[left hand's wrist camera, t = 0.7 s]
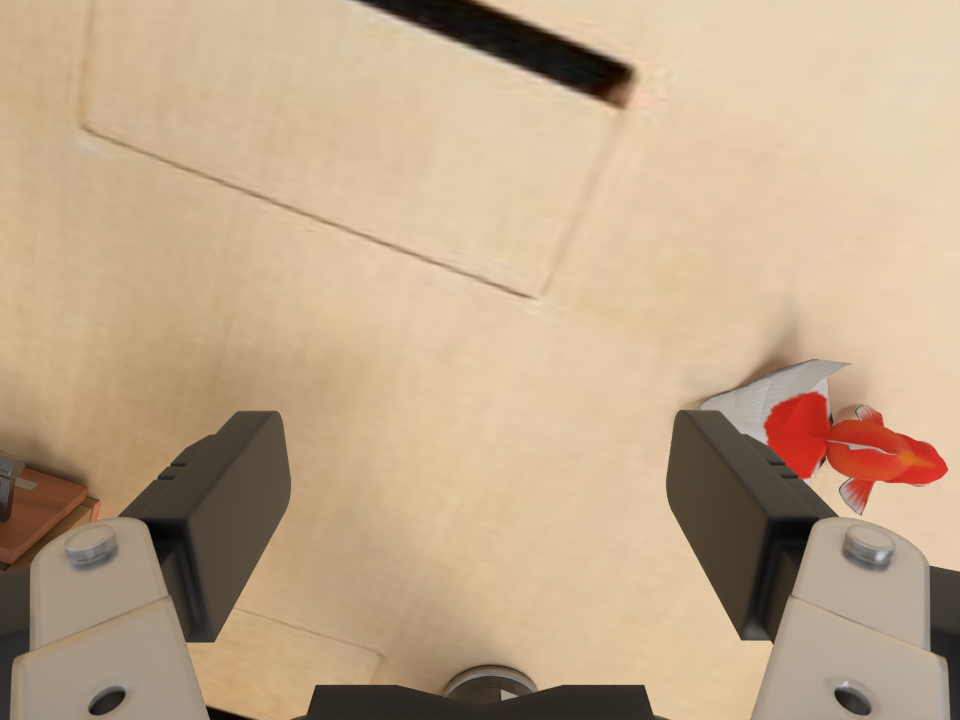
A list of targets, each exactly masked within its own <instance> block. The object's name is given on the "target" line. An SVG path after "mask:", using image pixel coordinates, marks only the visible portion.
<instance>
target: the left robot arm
mask: <svg viewBox="0 0 960 720" xmlns="http://www.w3.org/2000/svg"><path fill="white" fill-rule="evenodd" d="M785 463H786V462H785V461H784V460H783V459H782V458H781V457H780V456H779V455H778V454H777V453H776V452H775V451H774V450H773V449H772V448H771V447H769V446H767V445H766V444H764V443H762V442H760V441H759V440H757V439H755V438H753V437H751V436H750V435H748V434H741V433H740V432H739V431H738V430H737V429H736V428H735V426H734V425H733V424H732V423H731V422H730V421H729V420H728V419H727V418H726V417H725V416H724V415H723V414H722V413H721V412H720V411H719V410H680V411H679V412H678V413H677V414H676V417H675V420H674V427H673V434H672V441H671V448H670V455H669V463H668V470H667V478H666V490H667V497H668V502H669V505H670V508H671V510H672V512H673V514H674V516H675V517H676V519H677V521H678V523H679V525H680V527H681V529H682V531H683V532H684V534H685V536H686V538H687V540H688V542H689V544H690V545H691V547H692V549H693V551H694V553H695V555H696V557H697V558H698V560H699V562H700V564H701V566H702V568H703V570H704V571H705V573H706V575H707V577H708V579H709V581H710V583H711V585H712V586H713V588H714V590H715V592H716V594H717V596H718V598H719V599H720V601H721V603H722V605H723V607H724V609H725V611H726V612H727V614H728V616H729V618H730V620H731V622H732V624H733V625H734V627H735V629H736V631H737V633H738V635H739V637H740V639H741V640H771V642H772V643H773V649H772V652H771V655H770V658H769V661H768V665H767V668H766V671H765V674H764V677H763V681H762V684H761V687H760V690H759V694H758V697H757V700H756V703H755V706H754V710H753V713H752V716H751V719H750V720H960V572H958V571H953V570H948V569H943V568H938V567H933V566H929V563H928V561H927V559H926V557H925V556H924V555H923V553H922V552H921V551H920V550H919V549H918V548H917V547H916V546H914V545H913V544H912V543H911V542H909V541H908V540H906V539H905V538H903V537H902V536H900V535H898V534H896V533H894V532H892V531H890V530H888V529H886V528H884V527H881V526H879V525H876V524H873V523H870V522H866V521H863V520H858V519H853V518H845V517H839V516H838V515H837V514H836V513H835V512H834V511H833V510H832V509H831V508H830V507H829V506H828V505H827V504H826V503H825V502H824V501H823V500H822V499H821V498H820V497H819V496H818V495H817V494H816V493H815V492H814V491H813V490H812V489H811V488H810V487H809V486H808V485H807V484H806V483H805V482H804V481H803V480H802V479H799V478H798V475H797V474H796V473H795V472H794V471H793V470H792V468H791V467H790V466H786V464H785ZM290 493H291V477H290V470H289V463H288V456H287V449H286V441H285V434H284V427H283V421H282V418H281V415H280V414H279V412H277V411H238V412H236V413H235V414H234V415H233V416H232V417H231V418H230V419H229V420H228V421H227V423H226V424H225V425H224V426H223V427H222V428H221V429H220V430H219V431H218V432H217V433H216V434H215V435H209V436H207V437H205V438H203V439H201V440H200V441H198V442H196V443H194V444H192V445H191V446H189V447H187V448H186V449H185V450H184V451H183V452H182V453H181V454H180V455H179V456H178V457H177V458H176V459H175V460H174V461H173V462H172V463H171V466H170V467H167V468H166V469H165V470H164V471H163V472H162V473H161V474H160V475H159V476H158V479H157V480H154V481H153V482H152V483H151V484H150V485H149V486H148V487H147V488H146V489H145V490H144V491H143V492H142V493H141V494H140V495H139V496H138V497H137V498H136V499H135V500H134V501H133V502H132V503H131V504H130V505H129V506H128V507H127V508H126V509H125V510H124V511H123V512H122V513H121V514H120V515H119V516H118V517H115V518H107V519H102V520H97V521H94V522H90V523H87V524H84V525H81V526H79V527H76V528H74V529H72V530H70V531H68V532H66V533H64V534H62V535H60V536H58V537H57V538H55V539H54V540H52V541H51V542H49V543H48V544H47V545H46V546H44V547H43V548H42V549H41V550H40V551H39V552H38V553H37V555H36V556H35V557H34V559H33V561H32V563H31V566H30V567H26V568H21V569H16V570H11V571H6V572H1V573H0V720H210V719H209V716H208V713H207V710H206V706H205V703H204V700H203V697H202V694H201V690H200V687H199V684H198V681H197V677H196V674H195V671H194V668H193V665H192V661H191V658H190V655H189V652H188V649H187V645H186V642H215V640H216V638H217V636H218V634H219V633H220V631H221V629H222V627H223V625H224V623H225V622H226V620H227V618H228V616H229V614H230V612H231V611H232V609H233V607H234V605H235V603H236V601H237V600H238V598H239V596H240V594H241V592H242V590H243V588H244V587H245V585H246V583H247V581H248V579H249V577H250V576H251V574H252V572H253V570H254V568H255V566H256V565H257V563H258V561H259V559H260V557H261V555H262V554H263V552H264V550H265V548H266V546H267V544H268V543H269V541H270V539H271V537H272V535H273V533H274V531H275V530H276V528H277V526H278V524H279V522H280V520H281V519H282V517H283V515H284V513H285V511H286V509H287V507H288V503H289V499H290ZM291 720H669V719H667V718H664V717H660V716H656V715H653V712H652V709H651V706H650V702H649V699H648V696H647V693H646V689H645V686H644V685H561V686H557V687H554V688H550V689H546V690H542V691H538V690H537V688H536V686H535V685H534V684H533V682H532V681H531V680H530V679H528V678H527V677H526V676H524V675H523V674H521V673H519V672H517V671H515V670H512V669H508V668H504V667H496V666H487V667H479V668H475V669H471V670H469V671H466V672H464V673H462V674H460V675H459V676H457V677H456V678H455V679H453V680H452V681H451V682H450V684H449V685H448V686H447V688H446V690H445V692H444V695H443V697H442V696H438V695H434V694H430V693H426V692H422V691H418V690H414V689H410V688H406V687H403V686H399V685H316V686H315V689H314V693H313V696H312V699H311V702H310V706H309V709H308V712H307V715H304V716H300V717H296V718H293V719H291Z"/></svg>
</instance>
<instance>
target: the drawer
mask: <svg viewBox="0 0 960 720" xmlns="http://www.w3.org/2000/svg"><path fill="white" fill-rule="evenodd" d="M87 489H88V488H87V487H85V486H81V485H78V484H75V483H72V482H69V481H66V480H63V479H60V478H56V477H53V476H50V475H47V474H44V473H41V472H38V471H35V470H32V469H28V468H25V461H24V460H22V459H19V458H16V457H13V456H10V455H7V454H4V453H1V452H0V570H3V571H5V570H6V569H7V568H8V567H10V566H11V565H12V564H13V563H14V562H15V561H16V560H17V559H19V558H20V557H21V556H22V555H23V554H24V553H25V552H27V551H28V550H29V549H30V548H31V547H32V546H33V545H35V544H36V543H37V542H38V541H39V540H40V539H41V538H42V537H44V536H45V535H46V534H47V533H48V532H49V531H50V530H52V529H53V528H54V527H55V526H56V525H57V524H58V523H59V522H61V521H62V520H63V519H64V518H65V517H66V516H67V515H68V514H69V513H70V512H71V511H73V510H74V509H75V508H76V507H77V506H78V505H79V504H81V503H82V502H83V501H84V500H85V499H86V494H87Z"/></svg>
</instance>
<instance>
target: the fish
mask: <svg viewBox="0 0 960 720" xmlns="http://www.w3.org/2000/svg"><path fill="white" fill-rule="evenodd" d="M850 364H851V363H842V362H833V361H825V360H816V359H812V360H809V361H805V362H802V363H798V364H795V365H792V366H788V367H785V368H781V369H778V370H776V371H773V372H771V373H769V374H767V375H765V376H763V377H761V378H759V379H757V380H755V381H753V382H750V383H748V384H746V385H744V386H742V387H740V388H738V389H736V390H733V391H729V392H726V393H722V394H720V395H717V396H715V397H712V398H710V399H708V400H706V401H704V402H703V403H702V404H701V405H699V410H719V411H720V412H721V413H722V414H723V415H724V416H725V417H726V418H727V419H728V420H729V421H730V422H731V423H732V424H733V425H734V426H735V428H736V429H737V430H738V431H739V432H740V433H741V434H748V435H750V436H751V437H753V438H755V439H757V440H759V441H760V442H762V443H764V444H766V445H767V446H769V447H771V448H772V449H773V450H774V451H775V452H776V453H777V454H778V455H779V456H780V457H781V458H782V459H783V460H784V461H785V462H786V463H785V464H786V466H790V467H791V468H792V470H793V471H794V472H795V473H796V474H797V475H798V478H799V479H802V480H803V481H804V482H805V483H806V484H808V483H809V482H810V480H811V479H812V478H813V476H814V475H815V474H816V472H817V471H818V470H819V468H820V467H821V466H822V464H823V463H824V461H825V460H826V456H827V459H828V461H829V463H830V464H831V466H832V467H833V468H834V469H835V470H836V471H838V472H839V473H841V474H843V475H845V476H847V477H850V478H849V479H848V480H847V481H846V482H845V483H843V484H842V485H841V487H840V488H839V492H840V495H841V496H842V498H843V500H844V501H845V503H846V504H847V505H848V506H849V507H850V508H851V509H852V510H854V511H855V512H856V513H857V514H859V515H862V512H863V510H864V508H865V506H866V504H867V501H868V497H869V495H870V493H871V490H872V487H873V485H874V483H875V481H884V482H887V483H907V484H910V485H913V486H919V487H921V486H926V485H927V484H929V483H931V482H933V481H935V480H938V479H940V478H941V477H942V476H944V475H945V474H946V473H947V471H948V468H947V466H946V463H945V461H944V460H943V459H942V458H941V457H940V456H939V454H938V453H937V451H936V450H935V448H934V447H933V446H932V445H931V444H929V443H927V442H924V441H916V440H914V439H912V438H910V437H908V436H906V435H903V434H899V433H895V432H893V431H891V430H889V429H888V428H885V427H884V423H883V417H882V415H881V413H879V412H877V411H875V410H874V409H872V408H871V407H870V406H868V405H865V406H861V407H859V408H858V409H856V411H855V413H856V415H857V416H858V419H859V420H845V421H842V422H840V423H838V424H836V425H835V426H834V427H833V428H831V427H832V424H833V419H832V414H831V410H830V406H829V401H828V383H827V377H828V376H829V375H830V374H832V373H833V372H835V371H837V370H839V369H840V368H842V367H844V366H847V365H850Z"/></svg>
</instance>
